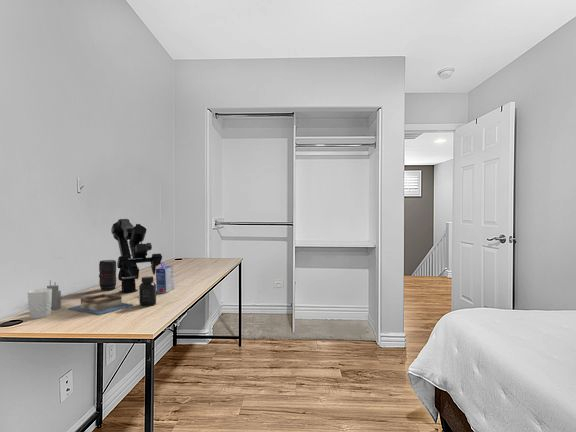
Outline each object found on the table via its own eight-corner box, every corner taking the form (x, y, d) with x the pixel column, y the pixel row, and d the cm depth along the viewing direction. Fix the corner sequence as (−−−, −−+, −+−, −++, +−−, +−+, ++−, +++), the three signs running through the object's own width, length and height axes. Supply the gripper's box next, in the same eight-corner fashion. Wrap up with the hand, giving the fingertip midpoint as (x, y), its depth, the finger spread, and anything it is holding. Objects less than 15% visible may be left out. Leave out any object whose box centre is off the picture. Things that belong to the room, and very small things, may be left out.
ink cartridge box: (164, 288, 194) (163, 261, 194) (174, 289, 194) (174, 261, 194) (155, 293, 184) (155, 263, 184) (166, 293, 184) (166, 264, 184)
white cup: (26, 320, 139) (26, 293, 139) (29, 315, 146) (29, 289, 146) (51, 317, 143) (50, 291, 143) (53, 312, 150) (53, 287, 150)
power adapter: (47, 308, 157) (47, 279, 157) (61, 307, 158) (61, 279, 158) (44, 309, 154) (43, 280, 154) (58, 309, 155) (58, 280, 154)
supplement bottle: (159, 303, 163) (159, 276, 163) (147, 307, 157) (147, 278, 157) (147, 302, 166) (147, 275, 166) (135, 305, 160) (135, 277, 160)
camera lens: (106, 291, 188) (106, 262, 188) (95, 290, 192) (95, 261, 192) (120, 288, 196) (119, 260, 195) (109, 287, 199) (109, 259, 199)
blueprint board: (68, 309, 154) (68, 308, 154) (102, 300, 169) (102, 299, 169) (100, 315, 145) (100, 313, 145) (133, 305, 160) (133, 304, 160)
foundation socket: (80, 307, 155) (80, 299, 154) (104, 302, 164) (104, 293, 164) (98, 310, 150) (98, 301, 150) (121, 304, 159) (121, 296, 159)
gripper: (118, 238, 164) (124, 265, 156) (160, 236, 175) (168, 262, 167) (114, 254, 171) (120, 281, 162) (155, 251, 182) (163, 277, 173)
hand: (143, 275), depth 166 cm, fingers open, 9 cm apart
